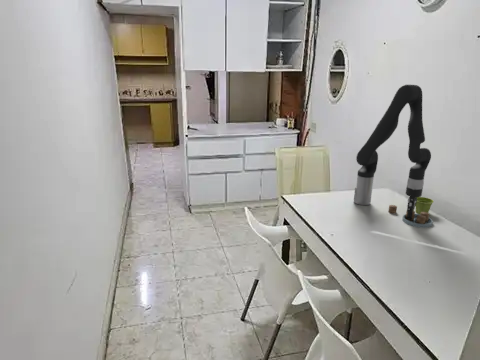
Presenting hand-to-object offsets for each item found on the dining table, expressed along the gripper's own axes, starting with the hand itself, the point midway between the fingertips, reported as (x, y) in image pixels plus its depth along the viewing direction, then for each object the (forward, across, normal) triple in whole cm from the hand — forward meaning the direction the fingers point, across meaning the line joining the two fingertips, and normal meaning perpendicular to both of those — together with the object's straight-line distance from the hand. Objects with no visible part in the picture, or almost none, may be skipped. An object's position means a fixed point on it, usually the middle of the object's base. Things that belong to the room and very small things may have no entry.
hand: (409, 216), depth 182 cm
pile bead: (+3, -6, -10) cm, 12 cm away
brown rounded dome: (+1, 0, 0) cm, 1 cm away
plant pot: (+3, -15, +4) cm, 15 cm away
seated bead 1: (+2, +3, +6) cm, 7 cm away
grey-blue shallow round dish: (+3, 0, +4) cm, 5 cm away
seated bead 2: (+2, -2, +6) cm, 7 cm away
